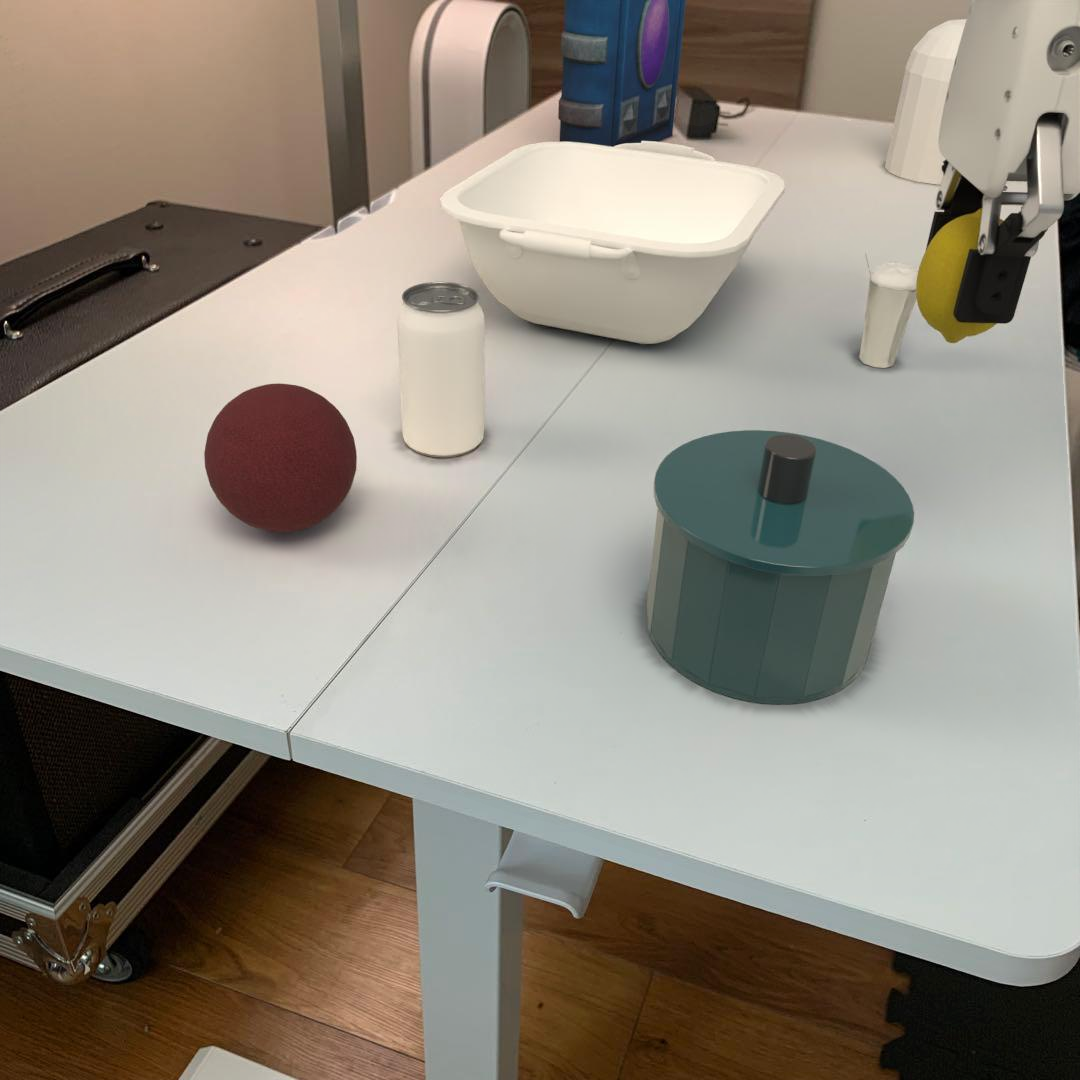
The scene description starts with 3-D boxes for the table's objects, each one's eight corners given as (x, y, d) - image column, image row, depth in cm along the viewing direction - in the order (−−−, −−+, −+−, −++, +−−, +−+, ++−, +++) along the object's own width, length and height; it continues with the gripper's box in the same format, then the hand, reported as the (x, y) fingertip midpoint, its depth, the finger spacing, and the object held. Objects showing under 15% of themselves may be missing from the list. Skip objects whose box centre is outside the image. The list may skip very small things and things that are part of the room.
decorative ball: (276, 580, 69) (258, 445, 63) (186, 521, 74) (161, 392, 69) (390, 518, 75) (383, 390, 70) (300, 468, 81) (286, 345, 75)
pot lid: (871, 449, 68) (885, 389, 65) (944, 588, 56) (965, 521, 53) (641, 443, 67) (647, 383, 65) (666, 582, 55) (674, 515, 53)
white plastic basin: (541, 238, 125) (545, 125, 118) (782, 278, 117) (803, 159, 109) (405, 350, 99) (399, 212, 91) (704, 412, 90) (724, 266, 83)
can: (408, 418, 88) (402, 277, 81) (486, 421, 88) (487, 281, 81) (397, 457, 82) (389, 311, 76) (480, 461, 82) (481, 315, 76)
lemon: (886, 341, 64) (916, 207, 59) (930, 316, 67) (962, 187, 62) (974, 371, 61) (1012, 232, 56) (1016, 343, 64) (1055, 209, 59)
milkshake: (841, 347, 102) (862, 245, 96) (898, 352, 102) (923, 250, 96) (845, 368, 98) (868, 262, 93) (905, 373, 98) (931, 268, 92)
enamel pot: (838, 566, 72) (867, 444, 67) (894, 706, 61) (935, 573, 56) (638, 562, 72) (651, 439, 67) (658, 702, 61) (676, 567, 55)
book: (601, 171, 148) (618, -79, 131) (548, 160, 152) (558, -85, 135) (680, 138, 165) (704, -88, 148) (630, 128, 169) (648, -93, 152)
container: (870, 172, 153) (901, 18, 141) (902, 153, 162) (934, 7, 150) (964, 191, 146) (1005, 31, 135) (992, 170, 156) (1032, 19, 144)
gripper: (1223, -30, 45) (1088, 364, 55) (1063, -70, 59) (979, 250, 69) (1045, -35, 45) (943, 361, 55) (927, -74, 59) (864, 247, 69)
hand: (964, 296), depth 62 cm, fingers closed on lemon, 5 cm apart
